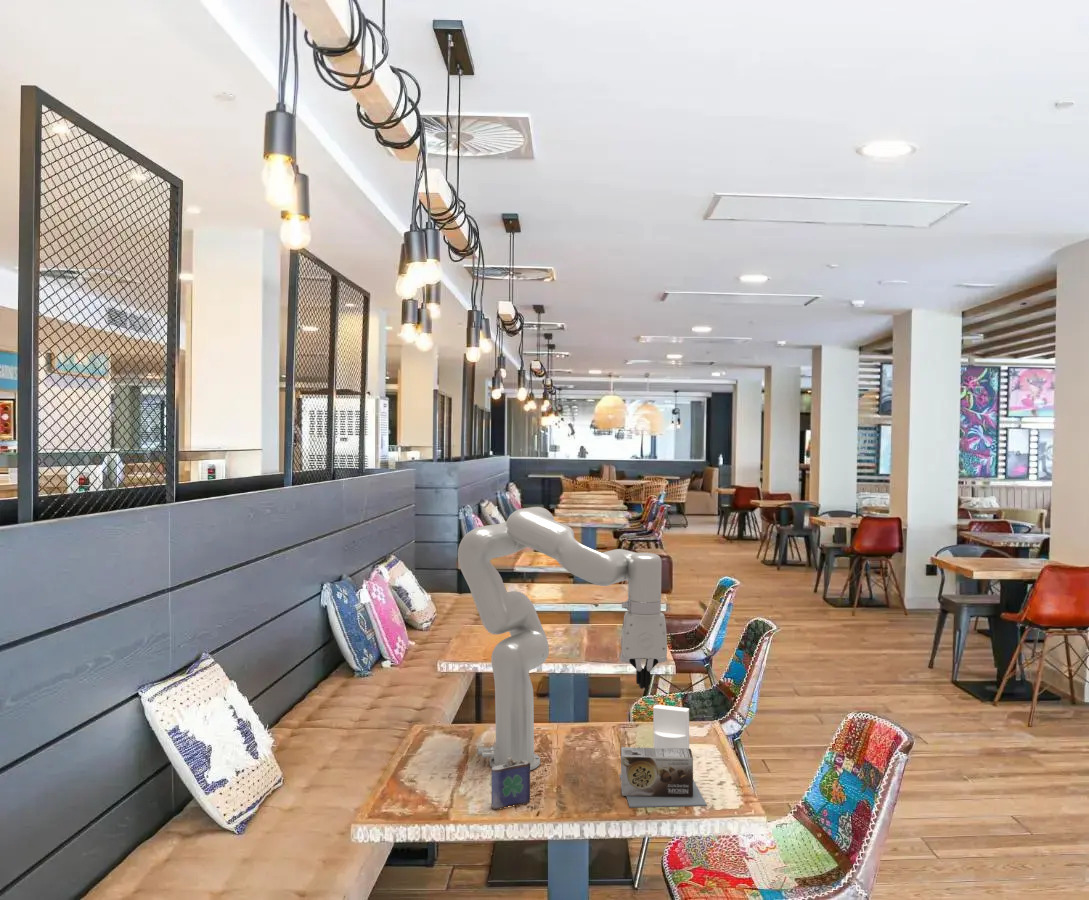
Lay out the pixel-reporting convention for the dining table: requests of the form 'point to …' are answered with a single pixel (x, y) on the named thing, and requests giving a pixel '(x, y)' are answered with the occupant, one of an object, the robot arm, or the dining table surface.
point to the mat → (667, 800)
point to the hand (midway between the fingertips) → (643, 686)
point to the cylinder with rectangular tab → (671, 727)
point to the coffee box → (656, 772)
